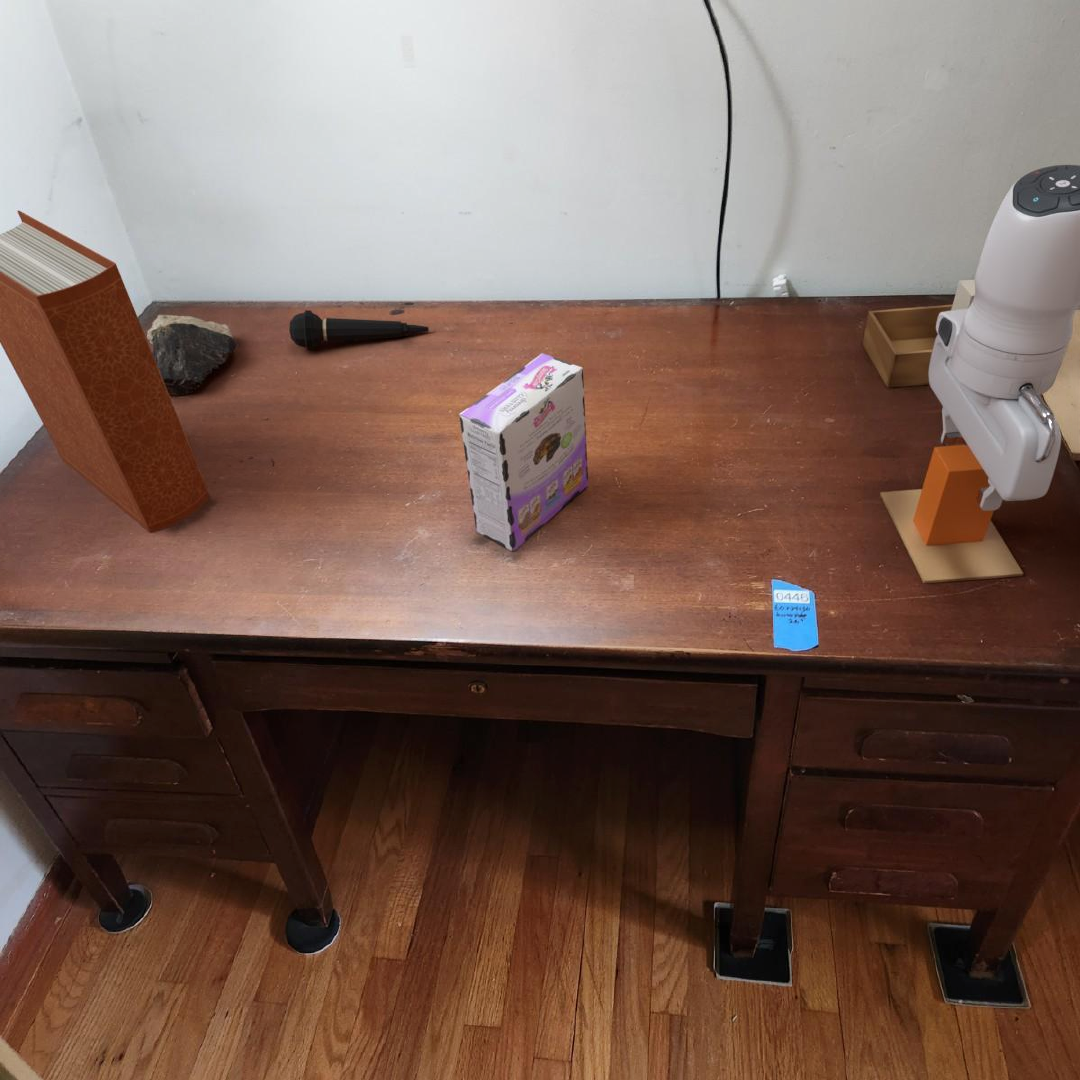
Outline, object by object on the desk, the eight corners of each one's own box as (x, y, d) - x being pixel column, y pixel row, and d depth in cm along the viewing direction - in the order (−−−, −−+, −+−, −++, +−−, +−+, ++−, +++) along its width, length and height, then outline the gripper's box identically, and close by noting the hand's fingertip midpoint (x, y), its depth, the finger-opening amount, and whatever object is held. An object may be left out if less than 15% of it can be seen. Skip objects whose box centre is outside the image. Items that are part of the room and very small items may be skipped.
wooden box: (985, 334, 125) (995, 301, 122) (1019, 378, 117) (1031, 343, 114) (861, 343, 125) (868, 310, 122) (887, 388, 117) (895, 354, 114)
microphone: (428, 344, 138) (292, 346, 135) (427, 305, 136) (289, 307, 133) (429, 352, 133) (289, 354, 130) (428, 312, 131) (285, 313, 128)
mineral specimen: (219, 297, 134) (239, 335, 123) (233, 343, 139) (253, 384, 128) (129, 317, 130) (142, 359, 119) (146, 364, 135) (160, 408, 124)
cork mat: (968, 488, 102) (969, 485, 102) (1022, 576, 92) (1023, 573, 92) (879, 494, 102) (880, 492, 102) (923, 583, 92) (924, 580, 92)
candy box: (550, 469, 109) (542, 349, 98) (590, 487, 107) (586, 366, 95) (474, 532, 102) (455, 411, 91) (513, 553, 99) (500, 431, 88)
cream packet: (985, 345, 122) (1006, 276, 116) (997, 361, 120) (1020, 291, 113) (940, 349, 123) (959, 280, 116) (951, 365, 120) (971, 295, 113)
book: (63, 460, 117) (-56, 237, 96) (121, 430, 121) (18, 210, 101) (154, 536, 105) (41, 300, 84) (215, 500, 109) (121, 266, 89)
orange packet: (968, 516, 98) (993, 442, 92) (983, 541, 95) (1010, 466, 89) (912, 520, 98) (934, 446, 92) (925, 546, 96) (949, 471, 89)
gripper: (1098, 421, 75) (1045, 543, 84) (995, 299, 90) (961, 414, 99) (1021, 427, 75) (977, 548, 84) (931, 304, 90) (903, 419, 99)
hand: (968, 475), depth 92 cm, fingers open, 8 cm apart
